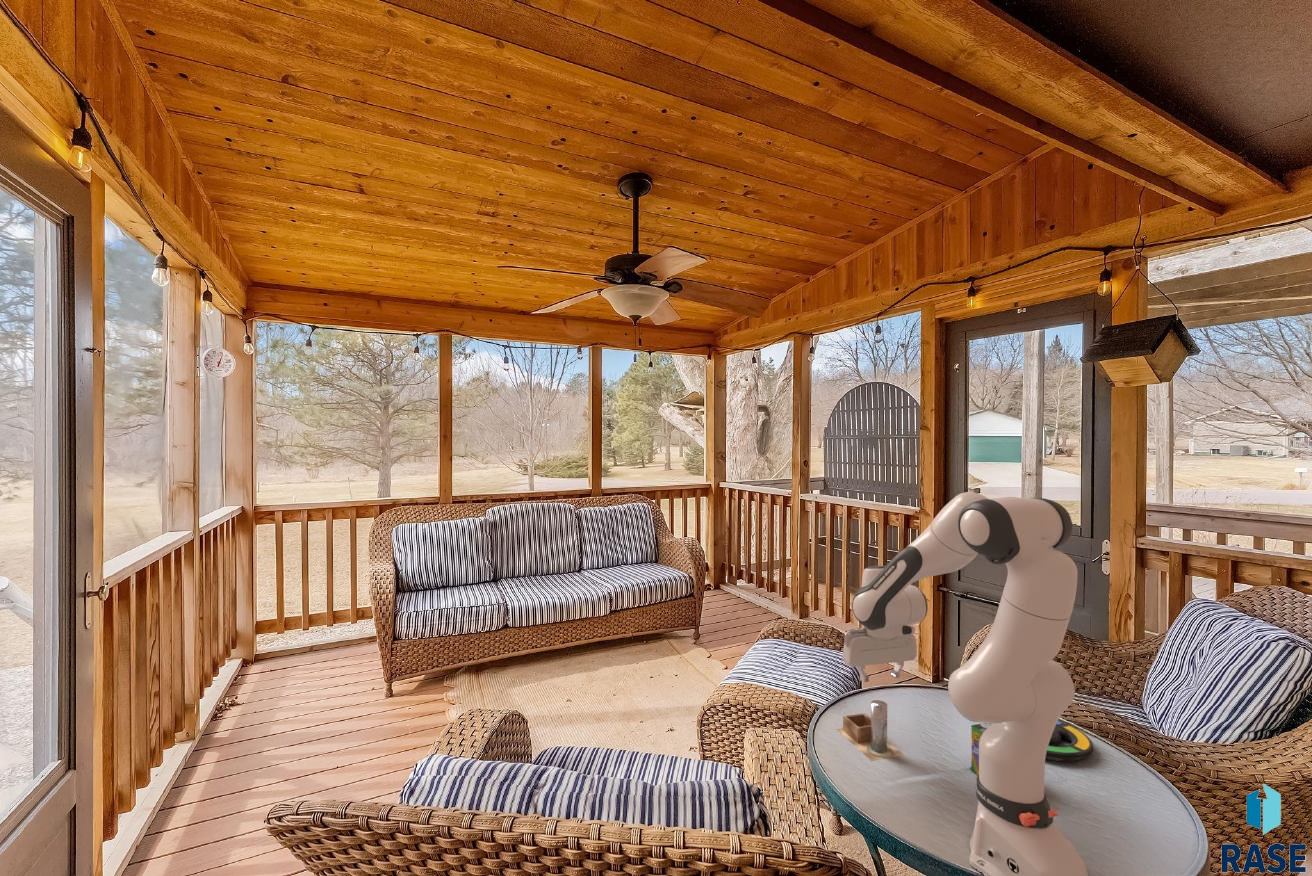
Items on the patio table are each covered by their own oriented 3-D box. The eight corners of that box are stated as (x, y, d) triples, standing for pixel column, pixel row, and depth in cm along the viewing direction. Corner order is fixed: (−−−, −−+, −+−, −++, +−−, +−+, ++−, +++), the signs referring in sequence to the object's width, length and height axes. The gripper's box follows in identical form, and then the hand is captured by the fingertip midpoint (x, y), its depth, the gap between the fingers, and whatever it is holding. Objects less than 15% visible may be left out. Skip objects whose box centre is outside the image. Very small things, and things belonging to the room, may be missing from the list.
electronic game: (1113, 755, 149) (1113, 737, 149) (1056, 775, 140) (1056, 755, 140) (1028, 716, 170) (1028, 700, 170) (973, 730, 162) (973, 714, 162)
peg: (890, 751, 148) (890, 706, 148) (877, 754, 147) (877, 707, 147) (880, 743, 152) (880, 699, 152) (867, 745, 151) (867, 700, 151)
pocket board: (904, 758, 147) (904, 739, 147) (871, 764, 144) (871, 744, 144) (867, 728, 162) (867, 710, 162) (836, 732, 160) (836, 715, 160)
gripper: (851, 633, 144) (852, 688, 143) (920, 626, 149) (921, 679, 148) (837, 626, 150) (838, 678, 149) (904, 619, 155) (904, 670, 154)
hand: (880, 679), depth 149 cm, fingers open, 8 cm apart
